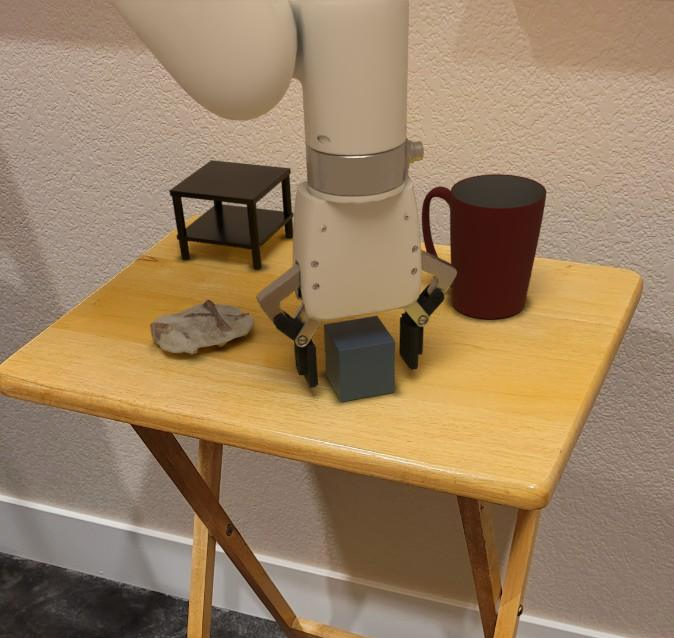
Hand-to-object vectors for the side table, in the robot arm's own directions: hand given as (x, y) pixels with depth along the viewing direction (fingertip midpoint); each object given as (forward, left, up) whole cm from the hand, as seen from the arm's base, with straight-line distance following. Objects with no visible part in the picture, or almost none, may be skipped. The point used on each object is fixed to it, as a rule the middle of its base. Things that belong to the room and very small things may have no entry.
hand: (359, 370), depth 79 cm
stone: (-12, +13, -1) cm, 18 cm away
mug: (+16, +12, -1) cm, 20 cm away
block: (0, 0, -1) cm, 1 cm away
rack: (-4, +34, -1) cm, 34 cm away
